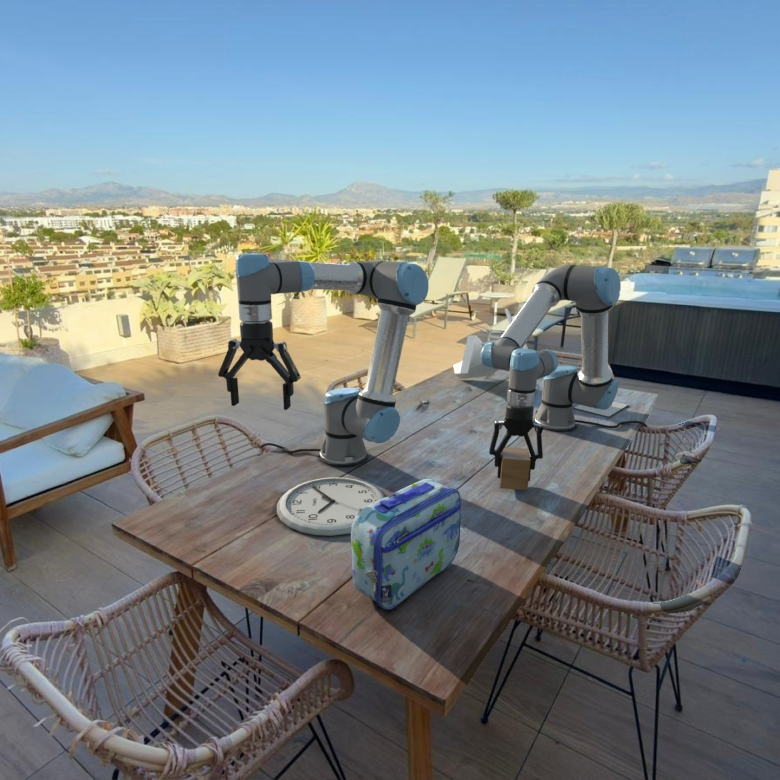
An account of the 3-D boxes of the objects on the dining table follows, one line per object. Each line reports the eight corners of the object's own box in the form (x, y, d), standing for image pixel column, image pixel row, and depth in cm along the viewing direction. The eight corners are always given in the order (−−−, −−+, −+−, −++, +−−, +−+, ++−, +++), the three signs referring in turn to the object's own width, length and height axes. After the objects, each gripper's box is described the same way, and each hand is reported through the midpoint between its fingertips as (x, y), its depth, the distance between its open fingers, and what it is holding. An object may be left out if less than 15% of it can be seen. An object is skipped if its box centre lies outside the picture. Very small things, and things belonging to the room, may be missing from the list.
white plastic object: (474, 421, 262) (452, 398, 237) (456, 348, 284) (434, 320, 259) (546, 397, 250) (531, 370, 225) (521, 322, 272) (505, 290, 247)
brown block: (499, 475, 159) (501, 446, 156) (525, 477, 158) (528, 448, 155) (500, 487, 151) (502, 458, 148) (527, 490, 150) (530, 460, 147)
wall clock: (392, 527, 129) (268, 531, 127) (391, 533, 130) (269, 537, 127) (383, 473, 158) (282, 475, 155) (383, 478, 158) (282, 480, 156)
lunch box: (380, 623, 100) (381, 528, 94) (344, 596, 108) (343, 505, 101) (464, 565, 118) (470, 482, 112) (428, 545, 125) (432, 466, 119)
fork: (413, 410, 217) (413, 405, 217) (424, 399, 232) (424, 394, 231) (419, 411, 217) (419, 406, 216) (429, 399, 231) (430, 395, 230)
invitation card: (608, 416, 214) (573, 407, 224) (608, 416, 214) (573, 408, 224) (628, 404, 229) (594, 396, 238) (628, 405, 229) (594, 397, 238)
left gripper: (198, 321, 122) (206, 407, 128) (301, 326, 118) (304, 414, 124) (214, 316, 129) (221, 398, 135) (311, 320, 125) (314, 404, 131)
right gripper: (483, 406, 145) (477, 480, 152) (560, 411, 142) (550, 486, 149) (483, 397, 152) (478, 468, 159) (556, 402, 149) (547, 475, 156)
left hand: (261, 406), depth 130 cm, fingers open, 13 cm apart
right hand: (513, 477), depth 154 cm, fingers closed on brown block, 8 cm apart
